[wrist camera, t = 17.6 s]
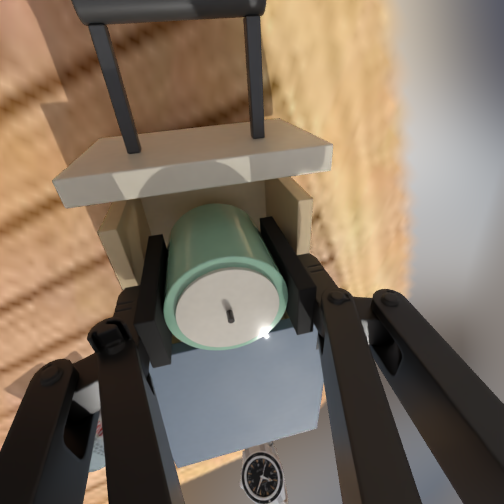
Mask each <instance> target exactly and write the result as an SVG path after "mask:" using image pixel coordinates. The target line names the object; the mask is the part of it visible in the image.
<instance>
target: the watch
mask: <svg viewBox="0 0 504 504" xmlns="http://www.w3.org/2000/svg"><path fill="white" fill-rule="evenodd" d="M277 453H278V452H277V449H276V448H275V446H274V443H273V441H271V442H267V443H264V444H260V445H257V446H253V447H250V448H246V449H245V450H244V451H243V458H242V462H243V463H242V471H241V480H240V481H239V483H240V488H241V489H242V488H243V489H244V491H245V492H246V494H247V496H248V497H249V498H250V499H251V500H252V501H253V502H255V503H256V504H288V495H287V489H286V485H285V480H284V471H283V467H282V464H281V462H280V460H279V457H278V454H277Z"/></svg>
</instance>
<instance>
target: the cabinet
mask: <svg viewBox="0 0 504 504" xmlns="http://www.w3.org/2000/svg"><path fill="white" fill-rule="evenodd" d="M317 335H318V331H317V329H316V327H315V325H313V332H310V333H305V334H301V335H297V334H296V332H295V329H294V327H293V325H292V323H291V320H290V318H287V319H283V320H280V321H279V322H278V323H277V325H276V326H275V327H274V328H273V329H272V330H271V331H270V332H268V333H267V334H266V335H264V336H263V337H261V338H260V339H258V340H256V341H254V342H252V343H250V344H247V345H245V346H242V347H239V348H234V349H229V350H217V351H215V350H204V349H199V348H195V347H192V346H190V345H187V344H185V343H184V342H179V343H174V344H172V356H171V364H170V365H166V366H161V367H157V368H153V367H152V365H151V363H149V373H150V375H151V377H152V381H153V385H154V388H155V392H156V396H157V400H158V404H159V407H160V411H161V415H162V419H163V423H164V426H165V430H166V434H167V438H168V441H169V445H170V449H171V453H172V457H173V460H174V462H175V464H176V465H177V467H178V468H180V467H183V466H187V465H190V464H194V463H197V462H201V461H204V460H208V459H211V458H215V457H218V456H222V455H225V454H229V453H232V452H236V451H239V450H243V449H246V448H250V447H253V446H257V445H260V444H264V443H267V442H271V441H274V440H278V439H281V438H285V437H288V436H292V435H295V434H298V433H302V432H306V431H309V430H313V429H316V428H317V425H318V418H319V411H320V404H321V397H322V390H323V383H324V379H323V373H322V367H321V360H320V354H319V349H316V345H317Z"/></svg>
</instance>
